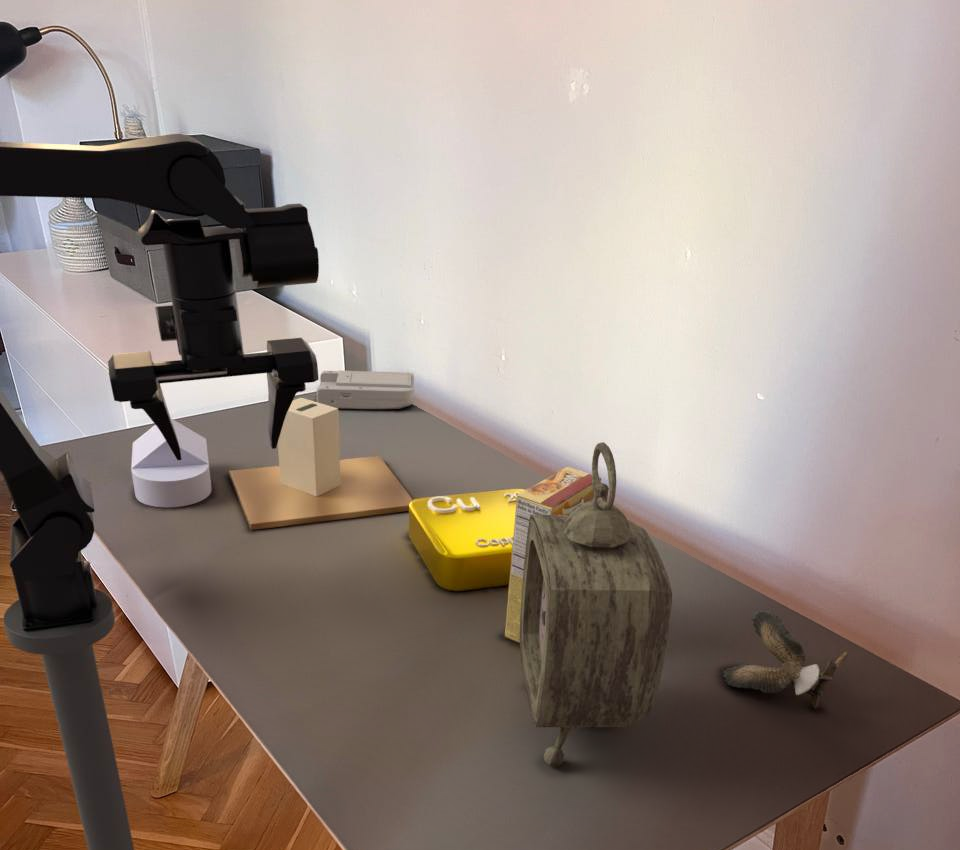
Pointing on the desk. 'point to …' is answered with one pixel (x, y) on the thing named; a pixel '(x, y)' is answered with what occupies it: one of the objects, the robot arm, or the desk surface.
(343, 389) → the handheld gaming device
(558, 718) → the tabletop clock
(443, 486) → the desk surface
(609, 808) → the desk surface
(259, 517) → the cork mat
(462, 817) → the desk surface
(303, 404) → the toaster
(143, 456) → the wedge on round base
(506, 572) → the element tile
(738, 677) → the eagle figurine
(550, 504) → the candy box
